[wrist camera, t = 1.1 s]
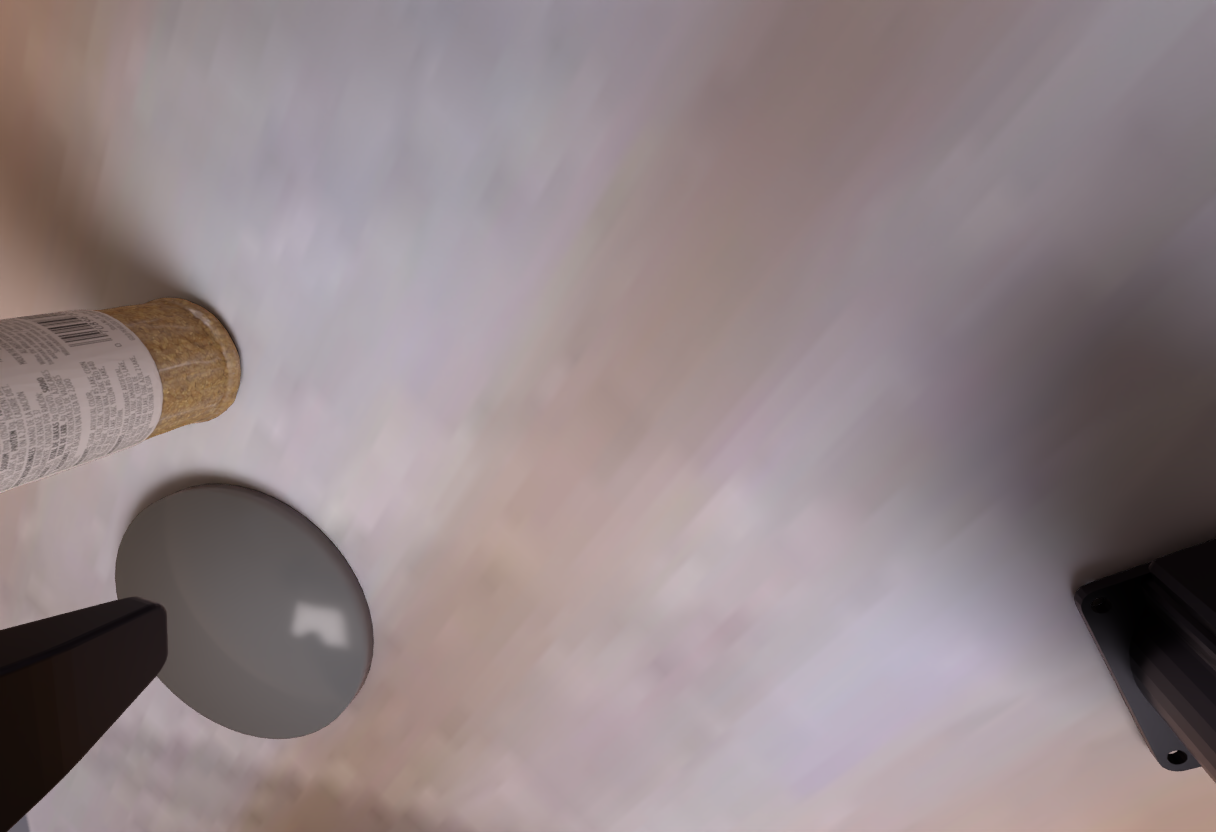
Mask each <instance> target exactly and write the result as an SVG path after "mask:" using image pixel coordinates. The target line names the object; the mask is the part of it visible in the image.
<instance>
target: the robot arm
mask: <svg viewBox="0 0 1216 832" xmlns="http://www.w3.org/2000/svg"><path fill="white" fill-rule="evenodd" d="M1097 598H1104V601H1103V602H1102V603H1101V604H1099V605H1096V606H1091V603H1092V602H1093V601H1094V600H1095V599H1097ZM1074 600H1075V604H1076V606H1077V608H1078V610H1079V612H1080V614H1081V616H1082V618H1083V620H1084V622H1085V624H1086V626H1087V628H1088V630H1089V632H1090V634H1091V636H1092V638H1093V640H1094V641H1095V643H1096V645H1097V647H1098V649H1099V651H1100V653H1101V655H1102V657H1103V659H1104V661H1105V663H1106V665H1107V667H1108V669H1109V671H1110V673H1111V675H1112V677H1113V679H1114V681H1115V683H1116V685H1117V687H1118V689H1119V691H1120V693H1121V695H1122V697H1123V699H1124V701H1125V703H1126V704H1127V706H1128V708H1129V710H1130V712H1131V714H1132V716H1133V718H1134V720H1135V722H1136V724H1137V726H1138V728H1139V730H1140V732H1141V734H1142V736H1143V738H1144V740H1145V742H1146V744H1147V746H1148V748H1149V750H1150V752H1151V753H1152V754H1153V756H1154V757H1155V758H1156V760H1157V761H1158V762H1159V764H1160V765H1161V766H1162V767H1164V768H1166V769H1167V770H1171V771H1185V770H1189V769H1193V768H1197V767H1201V766H1202V767H1203V768H1204V770H1205V771H1206V772H1207V773H1208V774H1209V776H1210V777H1211V778H1212V779H1213V781H1214V782H1215V783H1216V539H1214V540H1211V541H1208V542H1205V543H1202V544H1199V545H1196V546H1193V547H1190V548H1187V549H1184V550H1181V551H1178V552H1175V553H1172V554H1169V555H1167V556H1164V557H1161V558H1158V559H1156V560H1154V561H1153V562H1150V563H1147V564H1144V565H1141V566H1138V567H1135V568H1132V569H1129V570H1126V571H1123V572H1120V573H1117V574H1114V575H1112V576H1109V577H1106V578H1103V579H1100V580H1097V581H1094V582H1091V583H1088V584H1086V585H1084V586H1082V587H1080V588H1079V589H1078V591H1077V592H1076V594H1075V597H1074ZM167 657H168V625H167V611H166V609H165V607H164V606H163V605H162V604H160V603H157V602H154V601H151V600H148V599H145V598H142V597H137V596H131V597H127V598H123V599H119V600H115V601H111V602H107V603H103V604H100V605H96V606H92V607H88V608H84V609H80V610H76V611H72V612H69V613H65V614H61V615H57V616H53V617H49V618H45V619H42V620H38V621H34V622H30V623H26V624H22V625H18V626H15V627H11V628H7V629H3V630H0V832H7V831H8V830H9V829H10V828H12V827H13V826H14V825H15V824H16V823H17V822H18V821H19V820H20V819H21V818H22V817H23V816H24V815H25V814H26V813H27V812H29V811H30V810H31V809H32V808H33V807H34V806H35V805H36V804H37V803H38V802H39V801H40V800H41V799H42V798H43V797H44V796H45V795H46V794H47V793H48V792H50V791H51V790H52V789H53V788H54V787H55V786H56V785H57V784H58V783H59V782H60V781H61V780H62V779H63V778H64V777H65V776H66V775H67V774H68V772H69V771H70V770H71V769H72V768H73V767H74V766H75V765H76V764H77V763H78V762H79V761H80V760H81V759H82V758H83V757H84V755H85V754H86V753H87V752H88V751H89V750H90V749H91V748H92V747H93V746H94V744H95V743H96V742H97V741H98V740H99V739H100V738H101V737H102V736H103V734H104V733H105V732H106V731H107V730H108V729H109V728H110V727H111V726H112V724H113V723H114V722H115V721H116V720H117V719H118V718H119V717H120V716H121V715H122V713H123V712H124V711H125V710H126V709H127V708H128V707H129V706H130V705H131V703H132V702H133V701H134V700H135V699H136V698H137V697H138V696H139V695H140V694H141V692H142V691H143V690H144V689H145V688H146V687H147V686H148V685H149V684H150V682H151V681H152V680H153V679H154V678H155V677H156V676H157V675H158V673H159V672H160V671H161V669H162V668H163V666H164V664H165V662H166V660H167ZM1175 750H1178V751H1177V752H1175V753H1173V754H1169V753H1170V752H1172V751H1175Z"/></svg>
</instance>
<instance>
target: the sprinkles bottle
mask: <svg viewBox="0 0 1216 832" xmlns="http://www.w3.org/2000/svg"><path fill="white" fill-rule="evenodd" d="M240 376H241V368H240V358H239V355H238V352H237V350H236V347H235V345H234V343H233V342H232V340H231V338H230V336H229V334H228V332H227V331H226V329H225V328H224V327H223V326H222V324H221V323H220V322H219V320H218V319H217V318H216V317H215V316H214V315H213V314H211V313H210V312H209V311H207V310H206V309H204V308H203V307H201V306H199V305H197V304H194V303H192V302H190V301H188V300H184V299H180V298H160V299H156V300H152V301H149V302H147V303H145V304H139V305H130V306H123V307H116V308H111V309H104V310H73V311H65V312H57V313H49V314H41V315H33V316H25V317H17V318H10V319H2V320H0V493H2V492H5V491H8V490H11V489H13V488H16V487H19V486H22V485H24V484H27V483H30V482H35V481H38V480H41V479H44V478H47V477H50V476H52V475H55V474H58V473H61V472H63V471H66V470H69V469H72V468H75V467H77V466H80V465H83V464H86V463H88V462H91V461H94V460H97V459H100V458H102V457H105V456H108V455H111V454H113V453H116V452H119V451H122V450H125V449H127V448H130V447H133V446H135V445H137V444H139V443H141V442H143V441H144V440H146V439H149V438H151V437H154V436H156V435H159V434H162V433H165V432H168V431H171V430H173V429H176V428H179V427H181V426H184V425H188V424H191V423H200V422H205V421H209V420H211V419H213V418H216V417H218V416H219V415H221V414H222V413H223V412H224V411H226V410H227V409H228V407H230V406H231V405H232V404H233V402H234V401H235V398H236V394H237V390H238V388H239V384H240Z"/></svg>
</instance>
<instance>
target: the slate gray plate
mask: <svg viewBox="0 0 1216 832" xmlns="http://www.w3.org/2000/svg"><path fill="white" fill-rule="evenodd" d="M115 582H116V593H117V598H118V600H119V599H123V598H127V597H131V596H137V597H142V598H145V599H148V600H151V601H154V602H157V603H160V604H162V605H163V606H164V607H165V609H166V611H167V625H168V657H167V660H166V662H165V664H164V666H163V668H162V669H161V671H160V672H159V673H158V675H157V677H158V678H159V679H160V680H161V681H162V682H163V683H164V684H165V685H166V686H167V687H168V688H169V689H170V690H171V691H172V692H173V693H174V694H175V695H176V696H177V697H178V698H180V699H181V700H182V701H183V702H184V703H185V704H187V705H188V706H190V707H191V708H192V709H194V710H195V711H197V712H198V713H200V714H201V715H203V716H205V717H206V718H208V719H210V720H212V721H213V722H215V723H217V724H220V725H222V726H224V727H226V728H228V729H231V730H234V731H237V732H240V733H243V734H246V735H251V736H255V737H260V738H270V739H289V738H295V737H301V736H305V735H308V734H311V733H314V732H316V731H318V730H320V729H322V728H324V727H326V726H327V725H329V724H330V723H331V722H332V721H334V720H335V719H336V718H337V717H338V716H339V715H340V714H341V713H342V712H343V711H344V710H345V708H346V707H347V706H348V705H349V704H350V703H351V701H352V700H353V699H354V698H355V697H356V695H357V694H358V693H359V691H360V689H361V688H362V686H363V685H364V683H365V680H366V678H367V675H368V673H369V670H370V666H371V661H372V656H373V629H372V622H371V617H370V612H369V608H368V605H367V602H366V599H365V596H364V594H363V591H362V589H361V587H360V585H359V583H358V581H357V578H356V576H355V575H354V573H353V571H352V570H351V568H350V566H349V565H348V563H347V562H346V560H345V559H344V557H343V556H342V555H341V553H340V552H339V551H338V549H337V548H336V547H335V546H334V544H333V543H332V542H331V541H330V540H329V539H328V538H327V537H326V536H325V535H324V534H323V533H322V532H321V531H320V530H319V529H318V528H317V527H316V526H315V525H314V524H312V523H311V522H310V521H309V520H308V519H307V518H305V517H304V516H302V515H301V514H300V513H298V512H297V511H295V510H294V509H292V508H291V507H289V506H288V505H286V504H284V503H282V502H280V501H278V500H277V499H275V498H273V497H270V496H268V495H265V494H263V493H261V492H258V491H255V490H252V489H248V488H244V487H241V486H235V485H227V484H204V485H198V486H192V487H189V488H186V489H183V490H180V491H178V492H175V493H173V494H171V495H169V496H167V497H165V498H162V499H160V500H159V501H157V502H155V503H153V504H151V505H149V506H148V507H147V508H146V509H144V510H143V511H142V512H141V513H139V514H138V515H137V517H136V518H135V519H134V520H133V521H132V523H131V524H130V525H129V527H128V529H127V530H126V532H125V534H124V536H123V538H122V541H121V544H120V546H119V549H118V554H117V559H116V570H115Z"/></svg>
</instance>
